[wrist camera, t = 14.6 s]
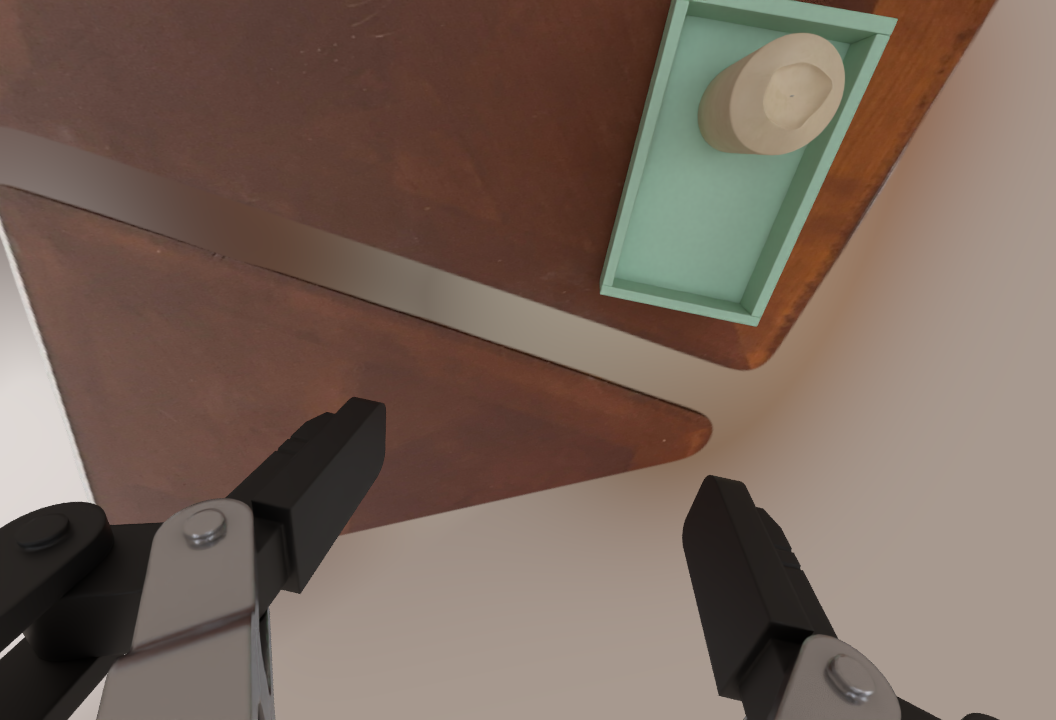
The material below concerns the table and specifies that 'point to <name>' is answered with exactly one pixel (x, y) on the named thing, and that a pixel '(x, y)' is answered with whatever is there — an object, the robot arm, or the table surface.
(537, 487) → the table surface
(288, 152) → the table surface
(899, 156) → the table surface
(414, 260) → the table surface
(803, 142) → the candle
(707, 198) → the tray
